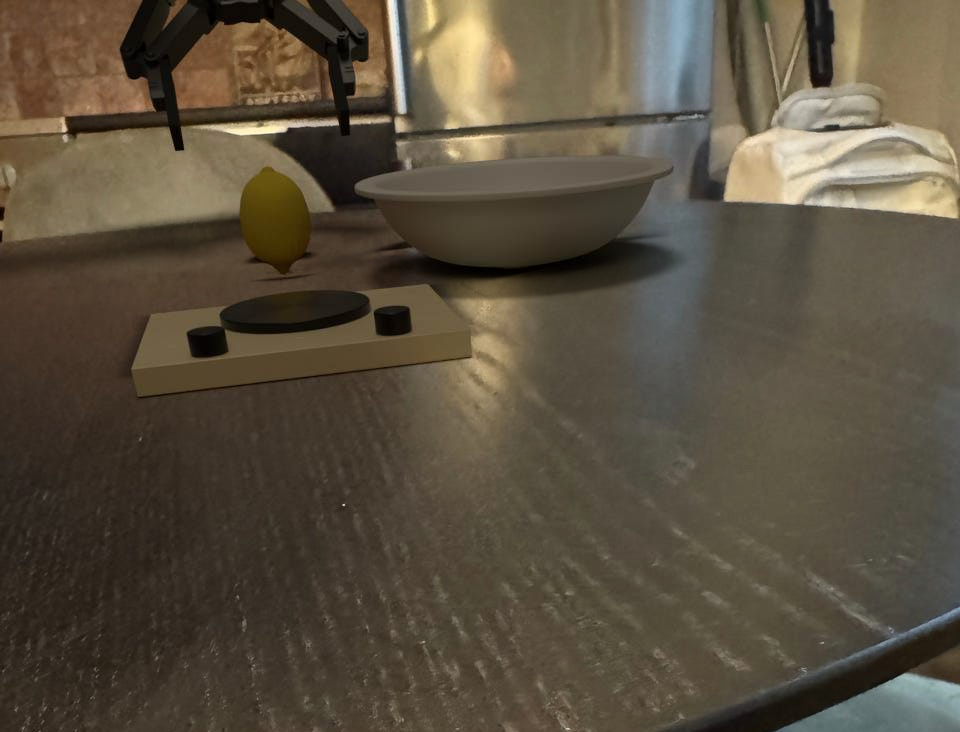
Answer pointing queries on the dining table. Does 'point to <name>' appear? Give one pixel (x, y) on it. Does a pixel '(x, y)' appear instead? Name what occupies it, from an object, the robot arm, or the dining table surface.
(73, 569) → the dining table surface
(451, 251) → the soup bowl
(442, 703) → the dining table surface
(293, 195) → the lemon
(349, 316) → the cooktop
